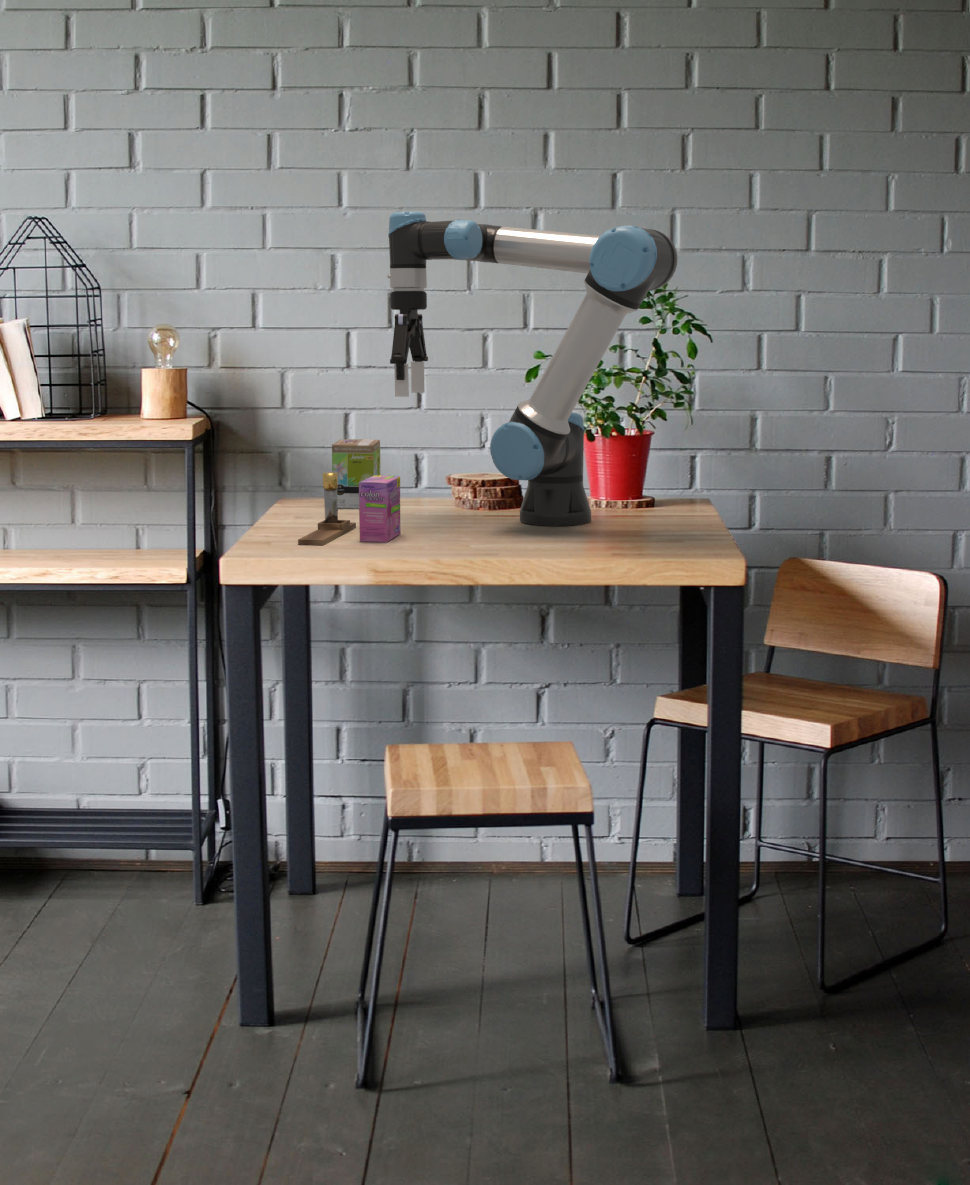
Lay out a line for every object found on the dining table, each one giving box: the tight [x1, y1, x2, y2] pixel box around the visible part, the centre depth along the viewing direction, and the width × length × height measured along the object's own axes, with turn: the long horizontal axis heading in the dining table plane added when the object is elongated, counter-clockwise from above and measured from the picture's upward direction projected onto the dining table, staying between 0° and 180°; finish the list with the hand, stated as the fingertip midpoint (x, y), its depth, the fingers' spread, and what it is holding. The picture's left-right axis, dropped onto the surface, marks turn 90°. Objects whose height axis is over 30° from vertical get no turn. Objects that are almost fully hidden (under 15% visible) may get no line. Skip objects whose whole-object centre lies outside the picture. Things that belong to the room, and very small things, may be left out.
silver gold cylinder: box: [322, 471, 339, 523], centre depth 267 cm, size 3×3×11 cm
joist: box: [297, 519, 357, 546], centre depth 264 cm, size 5×22×2 cm, turn 169°
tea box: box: [331, 438, 381, 509], centre depth 306 cm, size 15×10×15 cm
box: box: [358, 474, 401, 544], centre depth 260 cm, size 10×6×12 cm, turn 168°
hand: (410, 394), depth 276 cm, fingers open, 13 cm apart
